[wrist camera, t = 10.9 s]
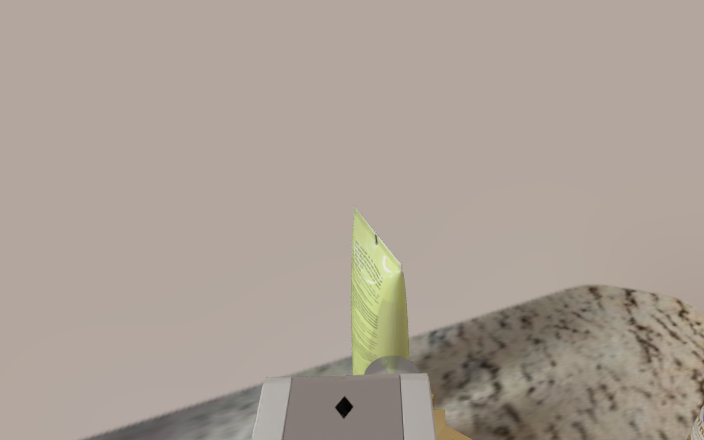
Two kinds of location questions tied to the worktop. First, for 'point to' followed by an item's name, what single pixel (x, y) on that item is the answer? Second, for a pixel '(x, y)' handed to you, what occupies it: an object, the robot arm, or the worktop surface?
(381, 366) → the post
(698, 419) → the sprinkles bottle
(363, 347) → the tube
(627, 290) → the worktop surface
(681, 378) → the worktop surface
